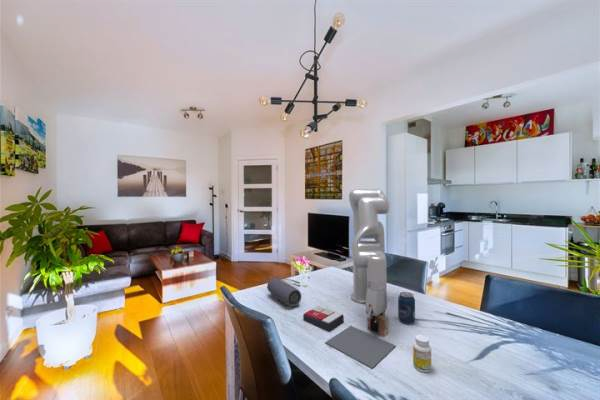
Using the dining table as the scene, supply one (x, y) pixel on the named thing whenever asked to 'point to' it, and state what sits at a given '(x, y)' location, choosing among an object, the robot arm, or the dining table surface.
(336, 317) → the red and cream box
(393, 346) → the mat
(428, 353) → the supplement bottle
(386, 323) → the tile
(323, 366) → the dining table surface
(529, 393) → the dining table surface
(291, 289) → the bluetooth speaker
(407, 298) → the soda can
